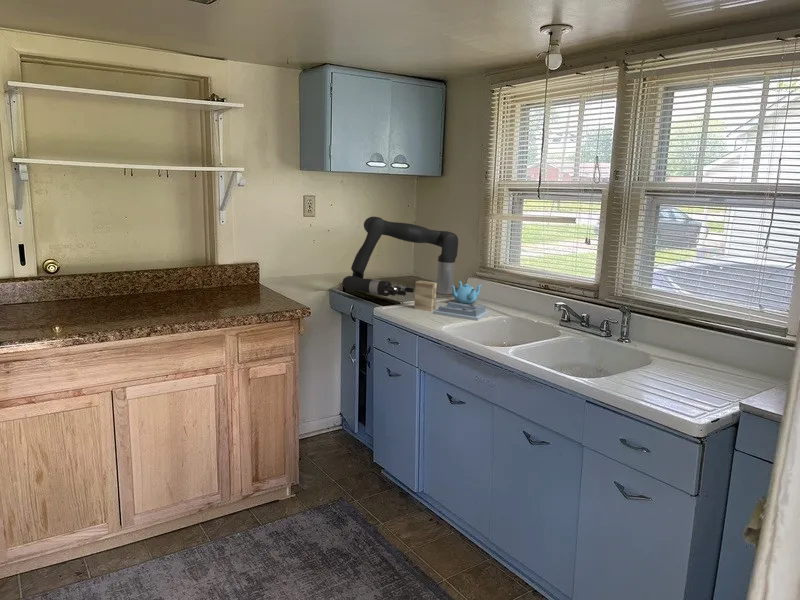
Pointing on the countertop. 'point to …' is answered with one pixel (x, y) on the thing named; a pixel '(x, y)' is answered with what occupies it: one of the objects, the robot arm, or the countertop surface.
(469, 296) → the teapot
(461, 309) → the grey stepped platform
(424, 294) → the wooden block
